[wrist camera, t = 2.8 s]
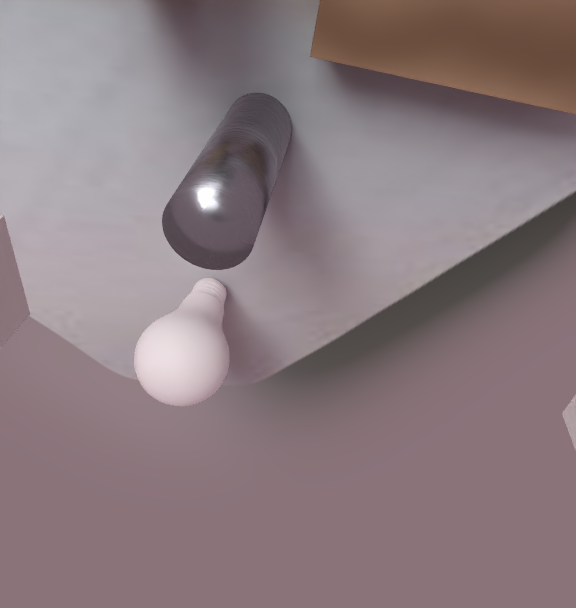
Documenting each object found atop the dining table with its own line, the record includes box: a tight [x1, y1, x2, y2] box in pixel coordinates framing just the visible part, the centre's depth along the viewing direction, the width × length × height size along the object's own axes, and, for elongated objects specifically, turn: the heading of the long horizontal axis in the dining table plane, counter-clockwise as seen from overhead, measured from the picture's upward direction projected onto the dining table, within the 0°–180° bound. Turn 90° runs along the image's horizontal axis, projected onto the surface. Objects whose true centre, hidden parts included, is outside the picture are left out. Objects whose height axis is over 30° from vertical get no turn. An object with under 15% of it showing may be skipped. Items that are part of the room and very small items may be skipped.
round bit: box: [162, 93, 292, 270], centre depth 26 cm, size 4×4×12 cm
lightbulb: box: [134, 278, 230, 406], centre depth 35 cm, size 6×6×11 cm
